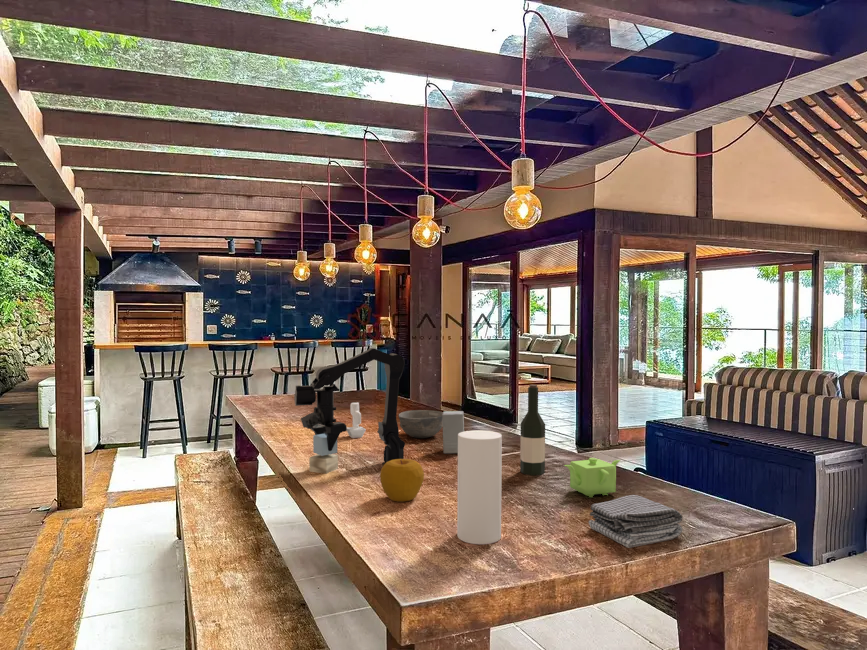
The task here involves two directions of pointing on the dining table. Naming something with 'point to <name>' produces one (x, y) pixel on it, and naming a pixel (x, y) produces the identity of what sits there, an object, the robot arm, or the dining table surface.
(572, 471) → the teapot
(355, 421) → the figurine
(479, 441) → the tall pillar cylinder
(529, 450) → the wine bottle
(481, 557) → the dining table surface
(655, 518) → the towel
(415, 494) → the apple
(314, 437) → the blue cube
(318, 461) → the birch block
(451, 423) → the skincare box
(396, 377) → the robot arm
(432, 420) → the bowl
